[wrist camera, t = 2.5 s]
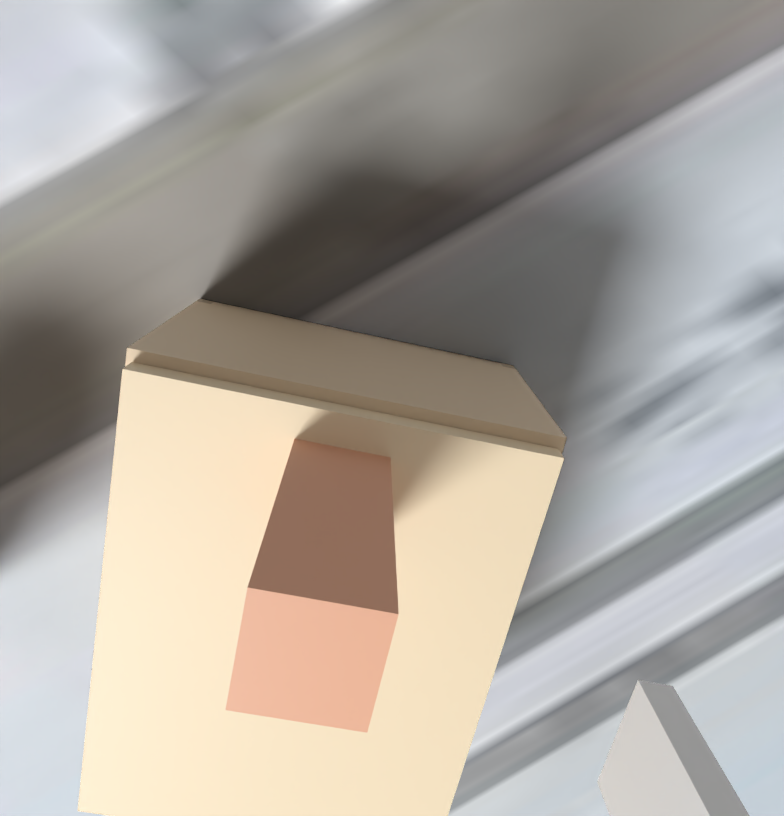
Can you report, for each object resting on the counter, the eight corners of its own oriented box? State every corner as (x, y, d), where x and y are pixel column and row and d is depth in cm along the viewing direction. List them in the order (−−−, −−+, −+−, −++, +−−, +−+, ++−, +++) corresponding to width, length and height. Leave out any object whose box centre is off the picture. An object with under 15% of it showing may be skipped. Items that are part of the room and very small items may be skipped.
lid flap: (131, 362, 21) (-34, 485, 12) (557, 448, 22) (669, 613, 14) (86, 792, 26) (-51, 1082, 18) (430, 842, 27) (455, 1136, 19)
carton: (200, 298, 29) (127, 347, 21) (513, 365, 30) (566, 437, 22) (153, 643, 35) (81, 794, 26) (420, 687, 36) (434, 846, 27)
